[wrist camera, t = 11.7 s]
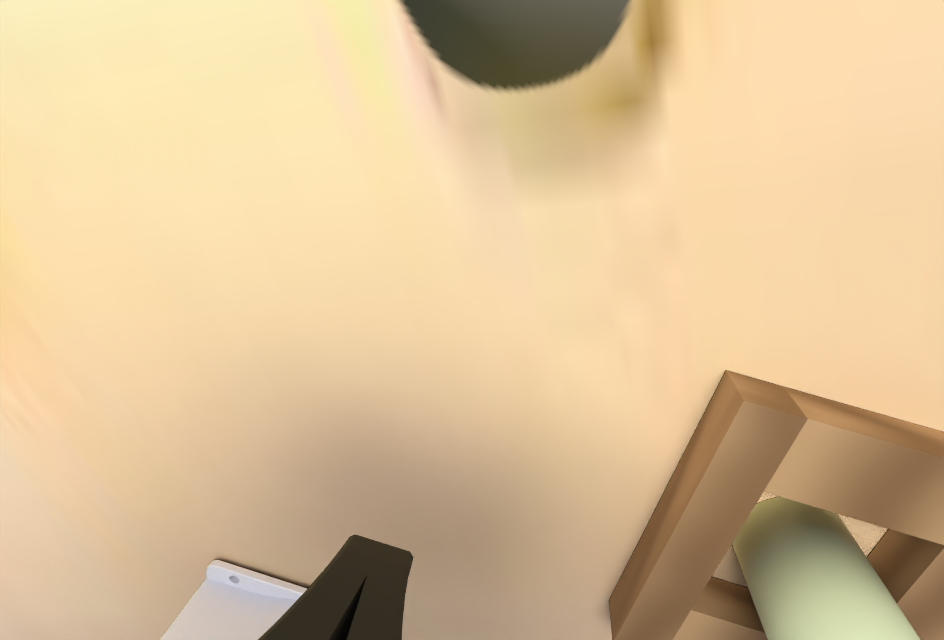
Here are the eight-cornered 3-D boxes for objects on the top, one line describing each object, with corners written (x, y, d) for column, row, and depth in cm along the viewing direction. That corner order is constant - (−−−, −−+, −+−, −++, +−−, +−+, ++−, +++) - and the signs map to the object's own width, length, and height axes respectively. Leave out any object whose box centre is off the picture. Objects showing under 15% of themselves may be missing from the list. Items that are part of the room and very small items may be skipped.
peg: (714, 557, 21) (792, 796, 14) (759, 483, 20) (873, 709, 12) (813, 587, 21) (943, 845, 14) (866, 514, 19) (1047, 763, 12)
